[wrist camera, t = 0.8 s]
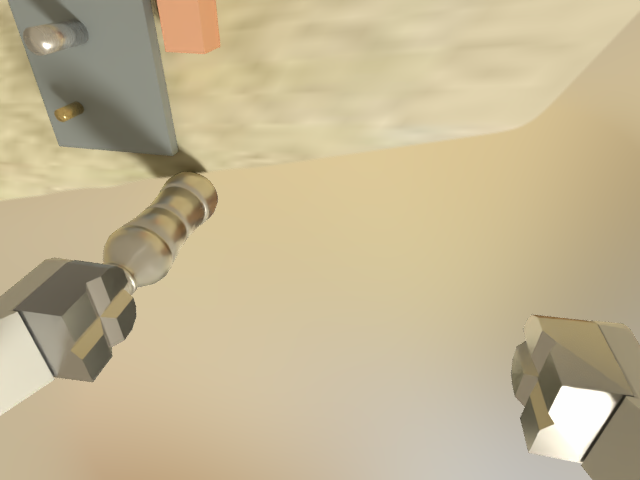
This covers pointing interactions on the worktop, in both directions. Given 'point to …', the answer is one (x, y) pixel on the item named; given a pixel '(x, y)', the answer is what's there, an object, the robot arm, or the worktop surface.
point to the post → (54, 40)
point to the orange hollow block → (189, 25)
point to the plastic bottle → (161, 230)
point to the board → (104, 75)
